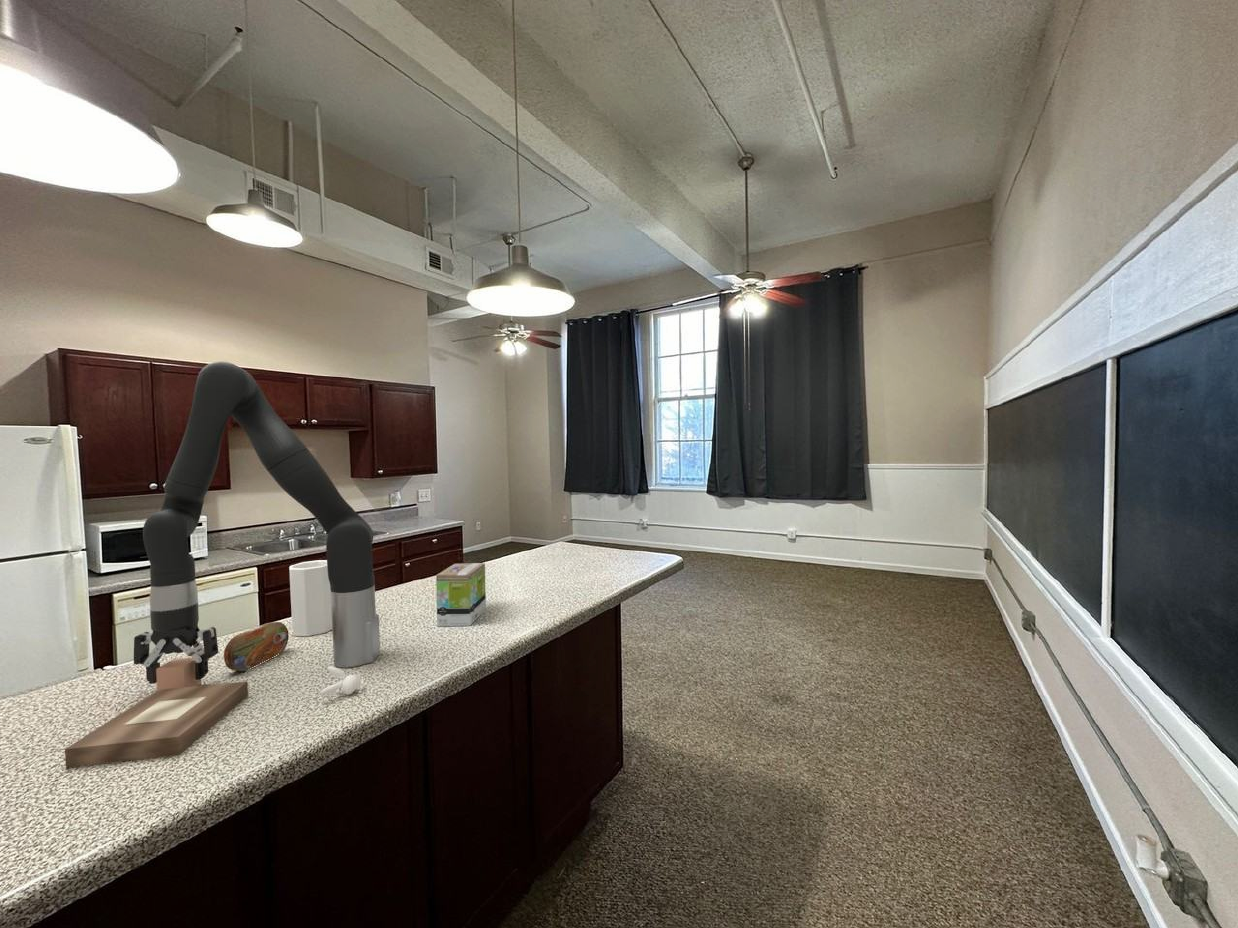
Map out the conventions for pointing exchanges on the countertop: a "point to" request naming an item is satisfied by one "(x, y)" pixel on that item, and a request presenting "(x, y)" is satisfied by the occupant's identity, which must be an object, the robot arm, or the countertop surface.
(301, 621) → the cup
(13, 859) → the countertop surface
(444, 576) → the tea box
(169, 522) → the robot arm
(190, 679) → the block
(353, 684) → the rabbit figurine
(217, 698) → the plinth
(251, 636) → the tin
